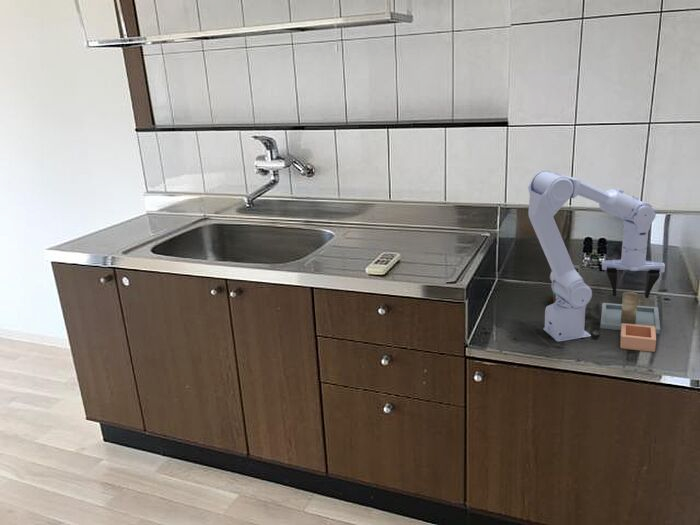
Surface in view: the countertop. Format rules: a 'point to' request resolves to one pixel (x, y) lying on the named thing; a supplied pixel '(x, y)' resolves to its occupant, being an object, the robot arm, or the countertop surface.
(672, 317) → the countertop surface
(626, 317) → the beech dowel
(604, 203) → the robot arm
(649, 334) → the terracotta square open box
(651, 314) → the slate tray
